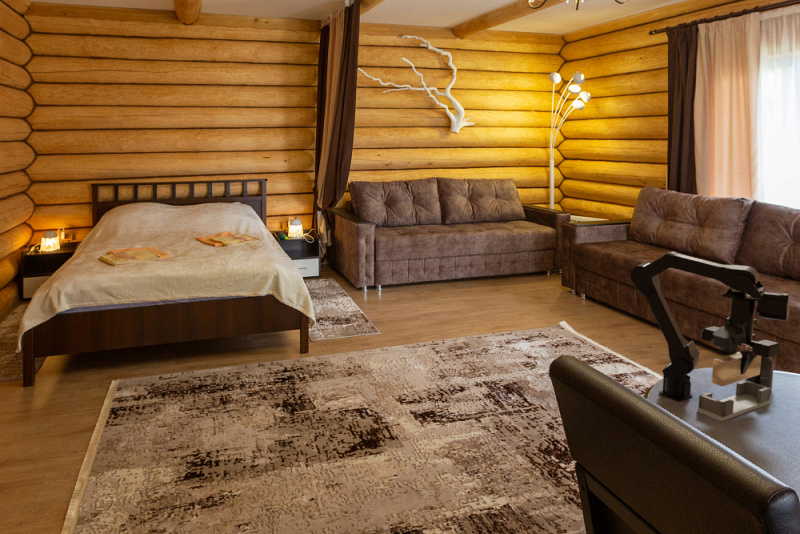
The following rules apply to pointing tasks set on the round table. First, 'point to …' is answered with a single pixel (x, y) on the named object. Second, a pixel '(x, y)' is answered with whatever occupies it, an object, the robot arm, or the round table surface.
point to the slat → (733, 369)
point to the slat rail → (735, 401)
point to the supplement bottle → (764, 373)
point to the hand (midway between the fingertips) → (736, 372)
